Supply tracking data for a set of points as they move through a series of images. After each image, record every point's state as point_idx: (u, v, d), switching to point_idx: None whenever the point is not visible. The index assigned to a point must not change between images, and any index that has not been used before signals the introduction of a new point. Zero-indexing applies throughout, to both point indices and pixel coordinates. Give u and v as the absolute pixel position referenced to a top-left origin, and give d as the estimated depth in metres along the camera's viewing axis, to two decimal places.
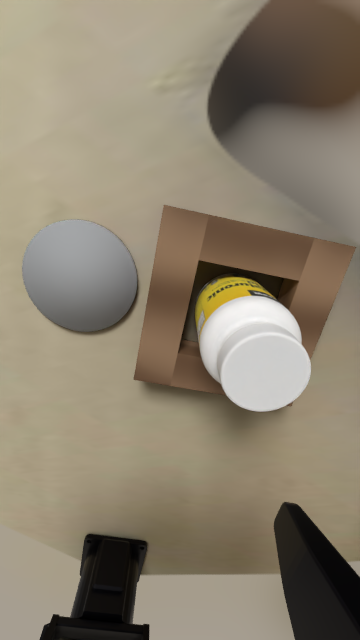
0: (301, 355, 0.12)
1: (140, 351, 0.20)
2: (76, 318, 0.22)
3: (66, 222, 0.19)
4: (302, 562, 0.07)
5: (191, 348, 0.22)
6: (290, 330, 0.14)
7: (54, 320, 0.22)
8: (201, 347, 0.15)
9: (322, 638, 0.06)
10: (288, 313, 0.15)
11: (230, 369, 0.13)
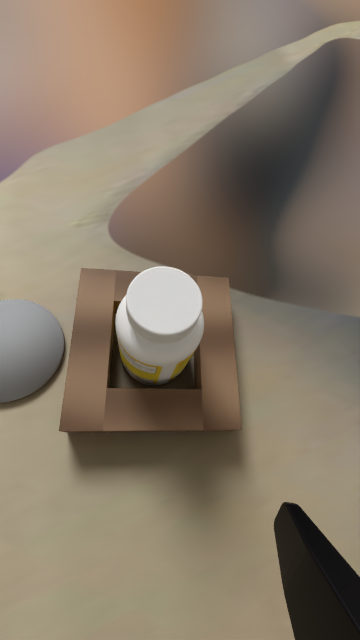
0: (188, 279, 0.16)
1: (66, 393, 0.19)
2: None
3: (0, 302, 0.23)
4: (302, 562, 0.07)
5: None
6: None
7: None
8: (116, 326, 0.17)
9: (322, 638, 0.06)
10: None
11: (133, 297, 0.15)
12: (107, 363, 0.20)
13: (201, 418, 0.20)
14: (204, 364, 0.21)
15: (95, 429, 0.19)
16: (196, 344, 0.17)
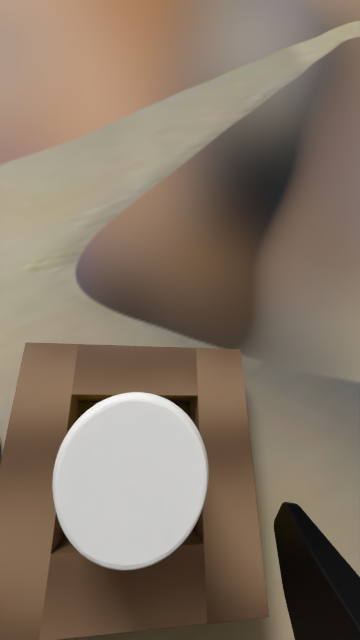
0: (179, 424, 0.08)
1: None
2: None
3: None
4: (302, 562, 0.07)
5: None
6: None
7: None
8: (53, 489, 0.09)
9: (322, 638, 0.06)
10: (169, 401, 0.11)
11: (69, 478, 0.07)
12: None
13: (204, 601, 0.12)
14: (208, 498, 0.14)
15: None
16: None
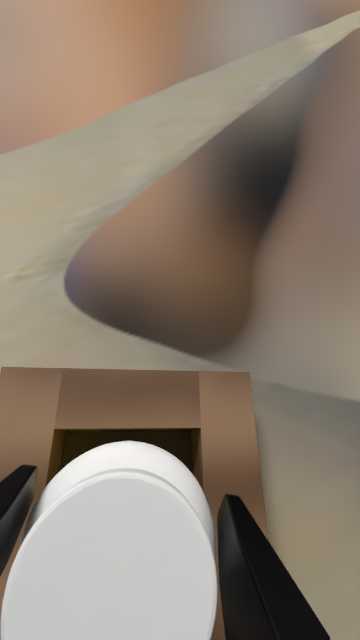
0: (179, 511, 0.06)
1: None
2: None
3: None
4: (233, 553, 0.07)
5: None
6: (175, 483, 0.08)
7: None
8: None
9: (243, 630, 0.06)
10: (166, 455, 0.09)
11: (23, 602, 0.05)
12: None
13: None
14: None
15: None
16: None
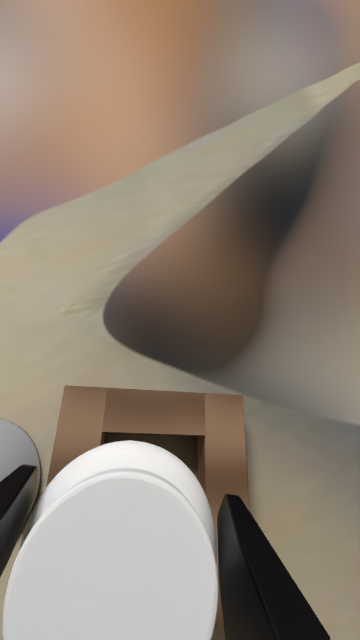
0: (179, 511, 0.06)
1: None
2: None
3: None
4: (233, 553, 0.07)
5: None
6: (176, 482, 0.08)
7: None
8: None
9: (243, 629, 0.06)
10: (167, 454, 0.09)
11: (25, 601, 0.05)
12: None
13: None
14: None
15: None
16: None
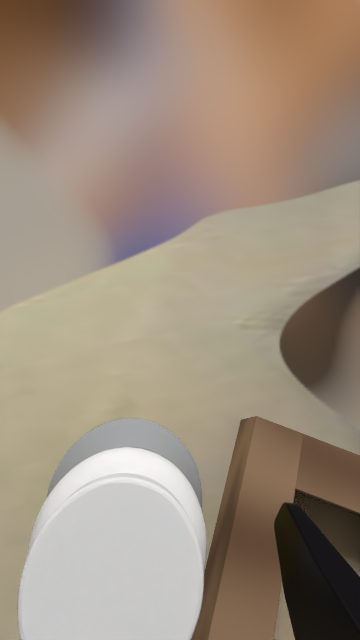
0: (170, 511, 0.07)
1: None
2: None
3: (132, 421, 0.17)
4: (302, 562, 0.07)
5: None
6: (169, 485, 0.09)
7: None
8: None
9: (322, 638, 0.06)
10: (162, 460, 0.10)
11: (37, 589, 0.06)
12: (275, 610, 0.13)
13: None
14: None
15: None
16: None
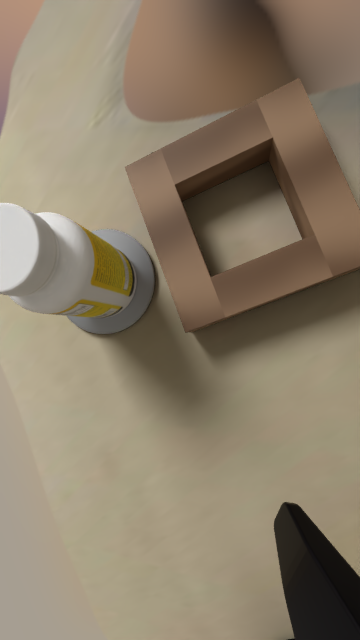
0: (2, 207, 0.13)
1: (174, 297, 0.19)
2: (115, 317, 0.22)
3: None
4: (302, 562, 0.07)
5: None
6: None
7: (99, 331, 0.22)
8: (15, 301, 0.16)
9: (322, 638, 0.06)
10: None
11: None
12: (199, 253, 0.19)
13: (326, 265, 0.17)
14: (308, 205, 0.17)
15: (217, 318, 0.18)
16: (85, 254, 0.15)
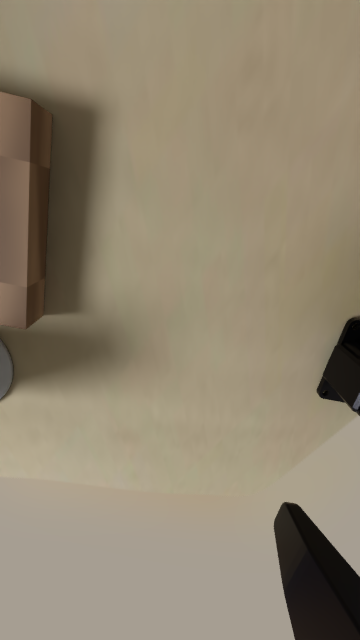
0: None
1: None
2: None
3: None
4: (302, 562, 0.07)
5: None
6: None
7: (3, 391, 0.22)
8: None
9: (322, 638, 0.06)
10: None
11: None
12: None
13: (14, 161, 0.15)
14: None
15: (25, 294, 0.17)
16: None
